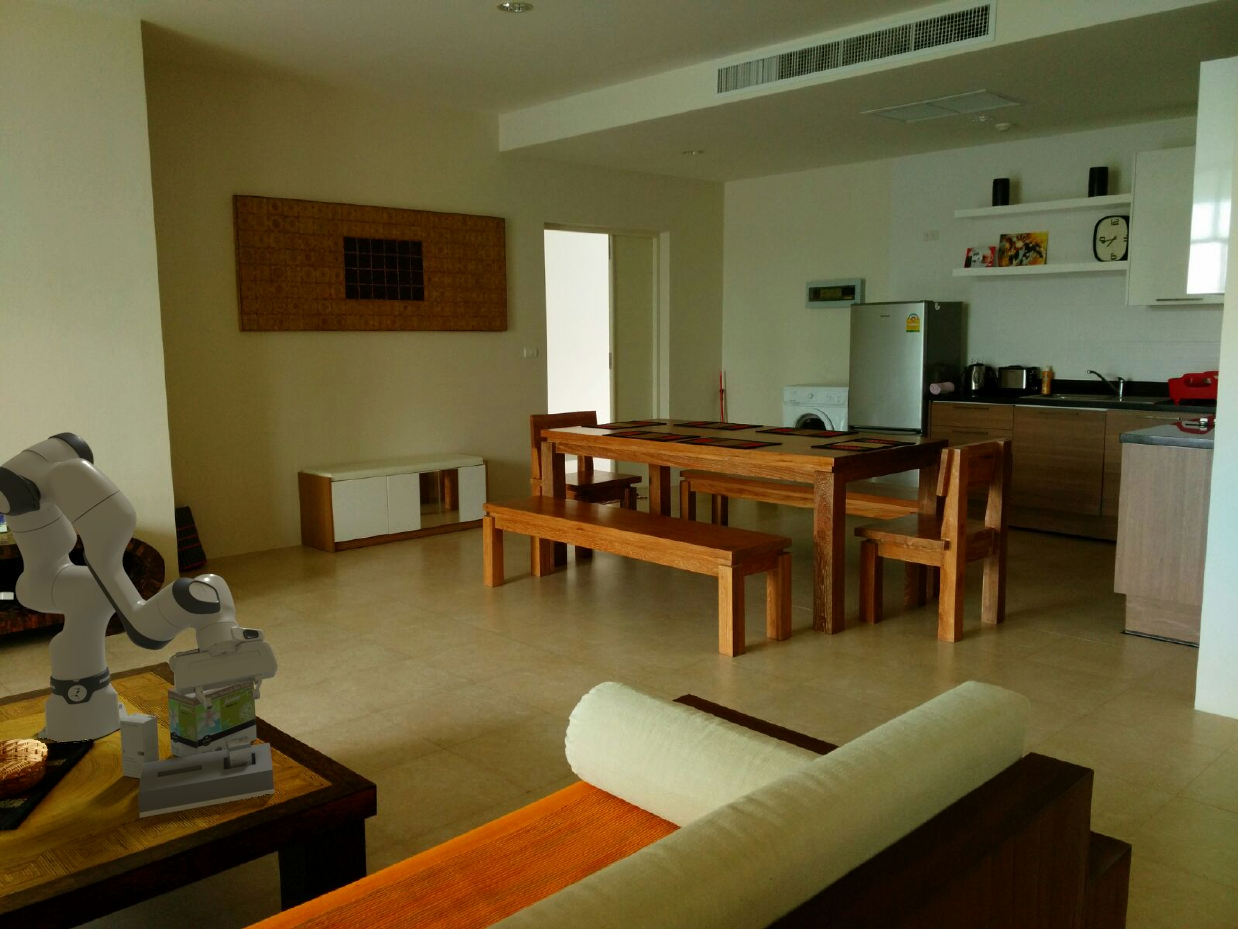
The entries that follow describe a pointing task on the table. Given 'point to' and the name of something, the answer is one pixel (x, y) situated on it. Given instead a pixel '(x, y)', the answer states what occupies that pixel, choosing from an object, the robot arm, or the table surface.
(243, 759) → the grey square-topped block
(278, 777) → the table surface
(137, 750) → the skincare box
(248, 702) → the tea box
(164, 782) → the caddy
